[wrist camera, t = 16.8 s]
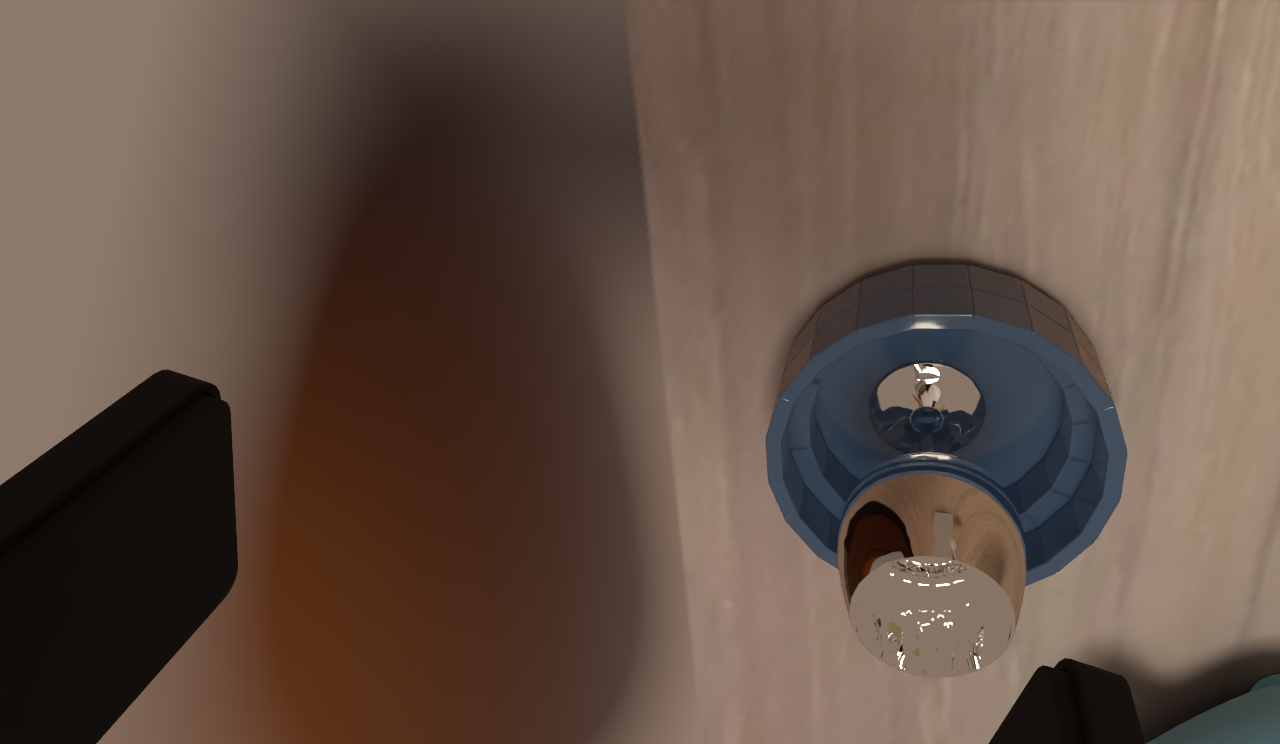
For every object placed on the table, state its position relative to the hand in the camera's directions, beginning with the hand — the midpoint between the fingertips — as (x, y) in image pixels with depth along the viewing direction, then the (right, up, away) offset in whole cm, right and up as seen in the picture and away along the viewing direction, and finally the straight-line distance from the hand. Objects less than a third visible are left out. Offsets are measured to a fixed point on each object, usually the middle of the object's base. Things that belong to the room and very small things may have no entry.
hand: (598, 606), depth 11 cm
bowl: (+12, +2, +27) cm, 30 cm away
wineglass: (+12, +1, +27) cm, 29 cm away
